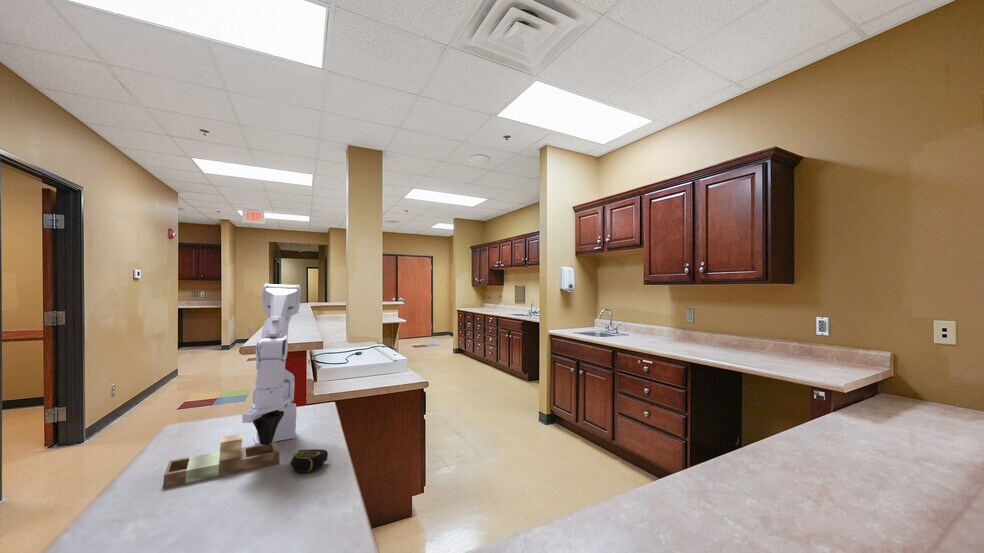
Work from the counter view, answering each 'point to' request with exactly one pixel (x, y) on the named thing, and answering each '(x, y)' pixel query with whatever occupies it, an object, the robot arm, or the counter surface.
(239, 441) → the beech block
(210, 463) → the frame
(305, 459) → the tape measure
